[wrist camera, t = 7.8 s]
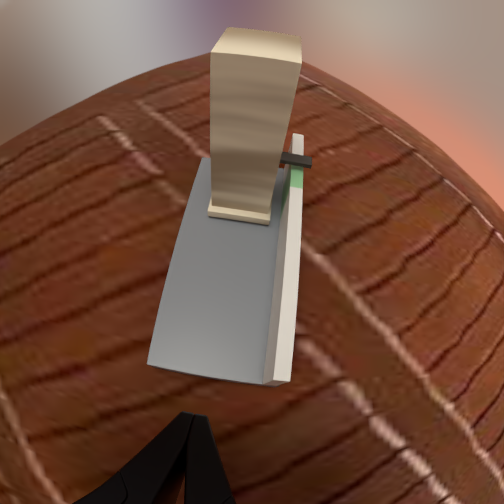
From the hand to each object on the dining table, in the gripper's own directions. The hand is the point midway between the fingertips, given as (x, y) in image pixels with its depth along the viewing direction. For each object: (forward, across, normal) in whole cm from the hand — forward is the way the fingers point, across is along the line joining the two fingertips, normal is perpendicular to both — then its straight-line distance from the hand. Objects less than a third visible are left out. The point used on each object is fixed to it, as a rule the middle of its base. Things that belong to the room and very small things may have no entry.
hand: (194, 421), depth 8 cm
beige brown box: (+16, -1, -6) cm, 17 cm away
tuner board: (+14, 0, -1) cm, 14 cm away
